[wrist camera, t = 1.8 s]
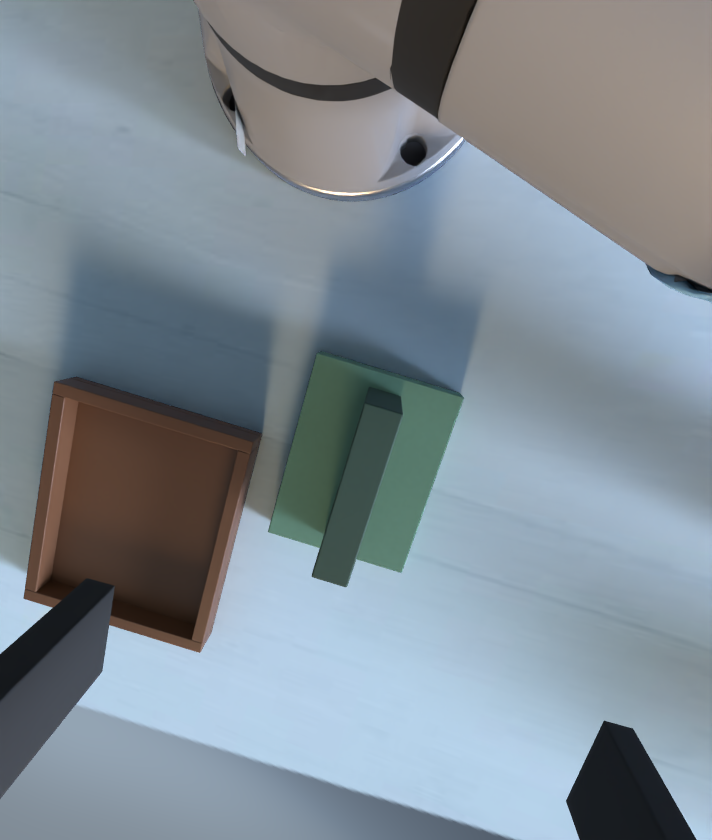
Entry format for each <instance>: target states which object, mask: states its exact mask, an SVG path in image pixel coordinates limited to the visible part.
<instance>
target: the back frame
mask: <svg viewBox="0 0 712 840" xmlns="http://www.w3.org/2000/svg"><path fill="white" fill-rule="evenodd" d="M261 436H262V433H259V432H256V431H252V430H249V429H246V428H242V427H239V426H236V425H233V424H229V423H226V422H223V421H219V420H216V419H213V418H210V417H206V416H203V415H200V414H197V413H193V412H190V411H187V410H183V409H180V408H177V407H174V406H170V405H167V404H164V403H160V402H157V401H154V400H151V399H147V398H144V397H141V396H138V395H134V394H131V393H128V392H124V391H121V390H118V389H115V388H111V387H108V386H105V385H101V384H98V383H95V382H92V381H88V380H85V379H82V378H79V377H73V378H69V379H64V380H59V381H55V382H54V387H53V394H52V401H51V408H50V415H49V422H48V429H47V436H46V443H45V450H44V457H43V464H42V471H41V479H40V486H39V493H38V500H37V507H36V514H35V521H34V528H33V535H32V542H31V549H30V557H29V564H28V571H27V578H26V585H25V592H24V599H27V600H30V601H33V602H36V603H40V604H43V605H46V606H49V607H55V606H56V605H57V604H58V603H59V602H60V601H61V600H62V599H64V598H65V597H66V596H67V595H68V594H69V593H70V592H72V591H73V590H74V589H75V588H76V587H77V586H78V585H79V584H81V583H82V582H83V581H84V580H85V579H86V578H89V579H92V580H96V581H99V582H103V583H107V584H110V585H114V586H115V589H114V595H113V602H112V609H111V615H110V622H109V625H111V626H114V627H118V628H121V629H124V630H127V631H131V632H134V633H137V634H140V635H144V636H147V637H150V638H153V639H157V640H160V641H163V642H166V643H170V644H173V645H176V646H179V647H183V648H186V649H189V650H193V651H196V652H199V653H200V652H201V650H202V648H203V647H204V645H205V643H206V641H207V639H208V638H209V636H210V634H211V632H212V628H213V624H214V620H215V616H216V612H217V608H218V605H219V601H220V597H221V593H222V589H223V585H224V581H225V577H226V573H227V569H228V565H229V562H230V558H231V554H232V550H233V546H234V542H235V538H236V534H237V530H238V526H239V522H240V519H241V515H242V511H243V507H244V503H245V499H246V495H247V491H248V487H249V483H250V479H251V476H252V472H253V468H254V464H255V460H256V456H257V452H258V448H259V444H260V440H261Z"/></svg>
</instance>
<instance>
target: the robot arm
mask: <svg viewBox="0 0 712 840" xmlns="http://www.w3.org/2000/svg"><path fill="white" fill-rule="evenodd" d="M193 1H194V2H195V4H196V5H197V7H198V10H199V17H200V25H201V32H202V40H203V47H204V53H205V58H206V62H207V66H208V71H209V74H210V78H211V81H212V85H213V88H214V90H215V93H216V96H217V98H218V101H219V103H220V105H221V107H222V109H223V111H224V113H225V115H226V117H227V119H228V120H229V122H230V124H231V125H232V127H233V129H234V130H235V131H236V133H237V148H238V149H239V150H240V151H241V152H242V153H243V154H244V155H245V156H246V152H245V144H246V146H247V147H248V148H249V149H250V150H251V151H252V152H253V153H254V155H255V156H256V157H257V158H258V159H259V160H260V161H261V162H262V163H263V164H264V165H265V166H266V167H267V168H268V169H269V170H270V171H272V172H273V173H274V174H276V175H277V176H278V177H279V178H281V179H282V180H284V181H286V182H287V183H289V184H290V185H292V186H294V187H296V188H298V189H300V190H302V191H304V192H307V193H310V194H313V195H315V196H319V197H323V198H327V199H332V200H339V201H366V200H373V199H379V198H383V197H387V196H390V195H393V194H396V193H399V192H401V191H404V190H406V189H408V188H410V187H412V186H414V185H416V184H418V183H420V182H421V181H423V180H424V179H426V178H427V177H429V176H430V175H432V174H433V173H434V172H435V171H437V170H438V169H439V168H440V167H442V166H443V165H444V164H445V163H446V162H447V161H448V160H449V159H450V158H451V157H452V156H453V155H454V154H455V153H456V151H457V150H458V149H459V148H460V147H461V146H462V144H463V143H464V142H465V140H466V141H468V142H469V143H470V144H472V145H473V146H475V147H476V148H478V149H479V150H481V151H482V152H484V153H485V154H487V155H488V156H489V157H491V158H492V159H494V160H495V161H497V162H498V163H500V164H501V165H503V166H504V167H506V168H507V169H508V170H510V171H511V172H513V173H514V174H516V175H517V176H519V177H520V178H522V179H523V180H525V181H526V182H527V183H529V184H530V185H532V186H533V187H535V188H536V189H538V190H539V191H541V192H542V193H544V194H545V195H546V196H548V197H549V198H551V199H552V200H554V201H555V202H557V203H558V204H560V205H561V206H563V207H564V208H565V209H567V210H568V211H570V212H571V213H573V214H574V215H576V216H577V217H579V218H580V219H582V220H583V221H584V222H586V223H587V224H589V225H590V226H592V227H593V228H595V229H596V230H598V231H599V232H601V233H602V234H603V235H605V236H606V237H608V238H609V239H611V240H612V241H614V242H615V243H617V244H618V245H620V246H621V247H622V248H624V249H625V250H627V251H628V252H630V253H631V254H633V255H634V256H636V257H637V258H639V259H640V260H641V261H643V262H644V263H645V264H646V266H647V268H648V270H649V272H650V274H651V275H652V276H653V277H655V278H656V279H658V280H659V281H661V282H662V283H663V284H665V285H666V286H667V287H669V288H671V289H674V290H676V291H678V292H680V293H682V294H685V295H688V296H692V297H695V298H699V299H703V300H707V301H709V302H711V303H712V0H193ZM114 589H115V586H114V585H110V584H107V583H103V582H99V581H96V580H92V579H89V578H86V579H85V580H84V581H83V582H82V583H81V584H79V585H78V586H77V587H76V588H75V589H74V590H73V591H72V592H70V593H69V594H68V595H67V596H66V597H65V598H64V599H62V600H61V601H60V602H59V603H58V604H57V605H56V606H55V607H53V608H52V609H51V610H50V611H49V612H48V613H47V614H45V615H44V616H43V617H42V618H41V619H40V620H39V621H37V622H36V623H35V624H34V625H33V626H32V627H31V628H30V629H28V630H27V631H26V632H25V633H24V634H23V635H22V636H20V637H19V638H18V639H17V640H16V641H15V642H14V643H13V644H11V645H10V646H9V647H8V648H7V649H6V650H5V651H3V652H2V653H1V654H0V798H1V797H2V796H3V795H4V793H5V792H6V791H7V790H8V788H9V787H10V786H11V785H12V783H13V782H14V781H15V779H16V778H17V777H18V776H19V774H20V773H21V772H22V771H23V769H24V768H25V767H26V766H27V765H28V763H29V762H30V761H31V760H32V758H33V757H34V756H35V755H36V754H37V752H38V751H39V750H40V749H41V747H42V746H43V744H44V743H45V742H46V741H47V740H48V738H49V737H50V736H51V735H52V734H53V732H54V731H55V730H56V729H57V727H58V726H59V725H60V724H61V722H62V721H63V720H64V719H65V717H66V716H67V715H68V713H69V712H70V711H71V709H72V708H73V707H74V706H75V705H76V704H77V702H78V701H79V700H80V699H81V697H82V696H83V695H84V694H85V692H86V691H87V690H88V689H89V687H90V686H91V685H92V684H93V682H94V681H95V680H96V679H97V677H98V676H99V675H100V674H101V672H102V669H103V662H104V655H105V649H106V642H107V635H108V629H109V622H110V615H111V609H112V602H113V595H114ZM566 802H567V805H568V808H569V811H570V813H571V816H572V819H573V822H574V825H575V828H576V831H577V833H578V836H579V839H580V840H696V838H695V836H694V834H693V833H692V831H691V829H690V827H689V826H688V824H687V822H686V820H685V819H684V817H683V815H682V813H681V812H680V810H679V808H678V807H677V805H676V803H675V801H674V800H673V798H672V796H671V794H670V793H669V791H668V789H667V787H666V786H665V784H664V782H663V780H662V779H661V777H660V775H659V773H658V772H657V770H656V768H655V766H654V765H653V763H652V761H651V759H650V758H649V756H648V754H647V752H646V751H645V749H644V747H643V745H642V744H641V742H640V740H639V738H638V737H637V735H636V733H635V731H634V730H633V729H632V728H629V727H625V726H621V725H618V724H614V723H611V722H607V721H604V722H603V724H602V726H601V728H600V730H599V732H598V734H597V737H596V739H595V741H594V743H593V745H592V747H591V749H590V751H589V753H588V756H587V758H586V760H585V762H584V764H583V766H582V768H581V770H580V772H579V775H578V777H577V779H576V781H575V783H574V785H573V787H572V789H571V791H570V794H569V796H568V798H567V800H566Z"/></svg>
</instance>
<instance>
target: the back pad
mask: <svg viewBox="0 0 712 840" xmlns="http://www.w3.org/2000/svg"><path fill="white" fill-rule="evenodd" d="M463 399H464V397H463V396H462V395H461V394H460V393H458V392H455V391H451V390H448V389H445V388H441V387H438V386H435V385H432V384H428V383H425V382H422V381H418V380H415V379H412V378H409V377H405V376H402V375H399V374H395V373H392V372H389V371H386V370H382V369H379V368H376V367H372V366H369V365H366V364H363V363H359V362H356V361H353V360H349V359H346V358H343V357H339V356H336V355H333V354H330V353H326V352H323V351H320V352H318V353H317V354H316V358H315V362H314V365H313V369H312V373H311V376H310V380H309V384H308V387H307V391H306V395H305V398H304V402H303V406H302V409H301V413H300V417H299V420H298V424H297V427H296V431H295V435H294V438H293V442H292V446H291V449H290V453H289V457H288V460H287V464H286V468H285V471H284V475H283V479H282V482H281V486H280V490H279V493H278V497H277V501H276V504H275V508H274V512H273V515H272V519H271V523H270V526H269V530H268V532H269V533H273V534H276V535H279V536H282V537H286V538H289V539H292V540H295V541H299V542H302V543H305V544H309V545H312V546H315V547H318V548H320V549H319V553H318V556H317V559H316V563H315V566H314V569H313V573H312V577H314V578H317V579H320V580H323V581H327V582H330V583H333V584H337V585H340V586H343V587H347V586H348V583H349V579H350V576H351V573H352V570H353V567H354V564H355V561H356V559H358V560H361V561H364V562H367V563H371V564H374V565H377V566H380V567H384V568H387V569H390V570H393V571H397V572H400V573H402V570H403V568H404V565H405V562H406V559H407V556H408V554H409V551H410V548H411V545H412V542H413V540H414V537H415V534H416V531H417V528H418V526H419V523H420V520H421V517H422V514H423V512H424V509H425V506H426V503H427V500H428V497H429V495H430V492H431V489H432V486H433V483H434V481H435V478H436V475H437V472H438V469H439V467H440V464H441V461H442V458H443V455H444V453H445V450H446V447H447V444H448V441H449V439H450V436H451V433H452V430H453V427H454V425H455V422H456V419H457V416H458V413H459V410H460V408H461V405H462V402H463Z"/></svg>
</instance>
